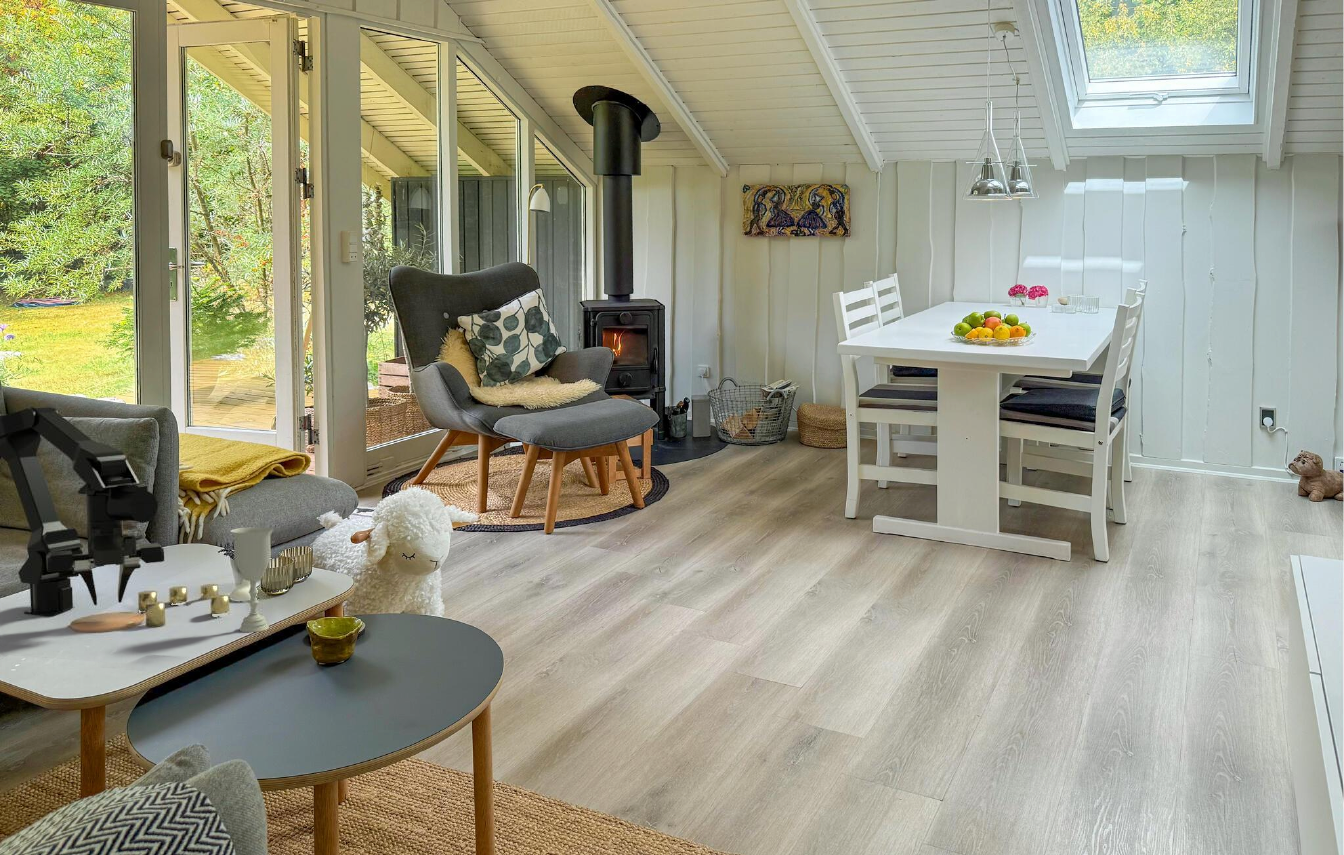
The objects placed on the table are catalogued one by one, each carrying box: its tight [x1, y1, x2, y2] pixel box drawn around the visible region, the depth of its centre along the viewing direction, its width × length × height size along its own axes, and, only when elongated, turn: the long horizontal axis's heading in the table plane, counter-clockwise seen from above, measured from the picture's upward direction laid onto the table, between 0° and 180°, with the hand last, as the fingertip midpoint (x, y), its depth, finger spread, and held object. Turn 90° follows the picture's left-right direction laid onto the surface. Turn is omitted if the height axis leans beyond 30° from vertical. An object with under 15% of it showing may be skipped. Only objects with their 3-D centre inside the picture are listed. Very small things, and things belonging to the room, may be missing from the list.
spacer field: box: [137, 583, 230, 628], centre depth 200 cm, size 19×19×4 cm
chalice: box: [230, 526, 274, 633], centre depth 190 cm, size 7×7×18 cm
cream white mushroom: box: [229, 577, 257, 600], centre depth 208 cm, size 6×6×8 cm
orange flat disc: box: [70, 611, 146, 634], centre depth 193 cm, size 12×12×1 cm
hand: (107, 603), depth 193 cm, fingers open, 4 cm apart
